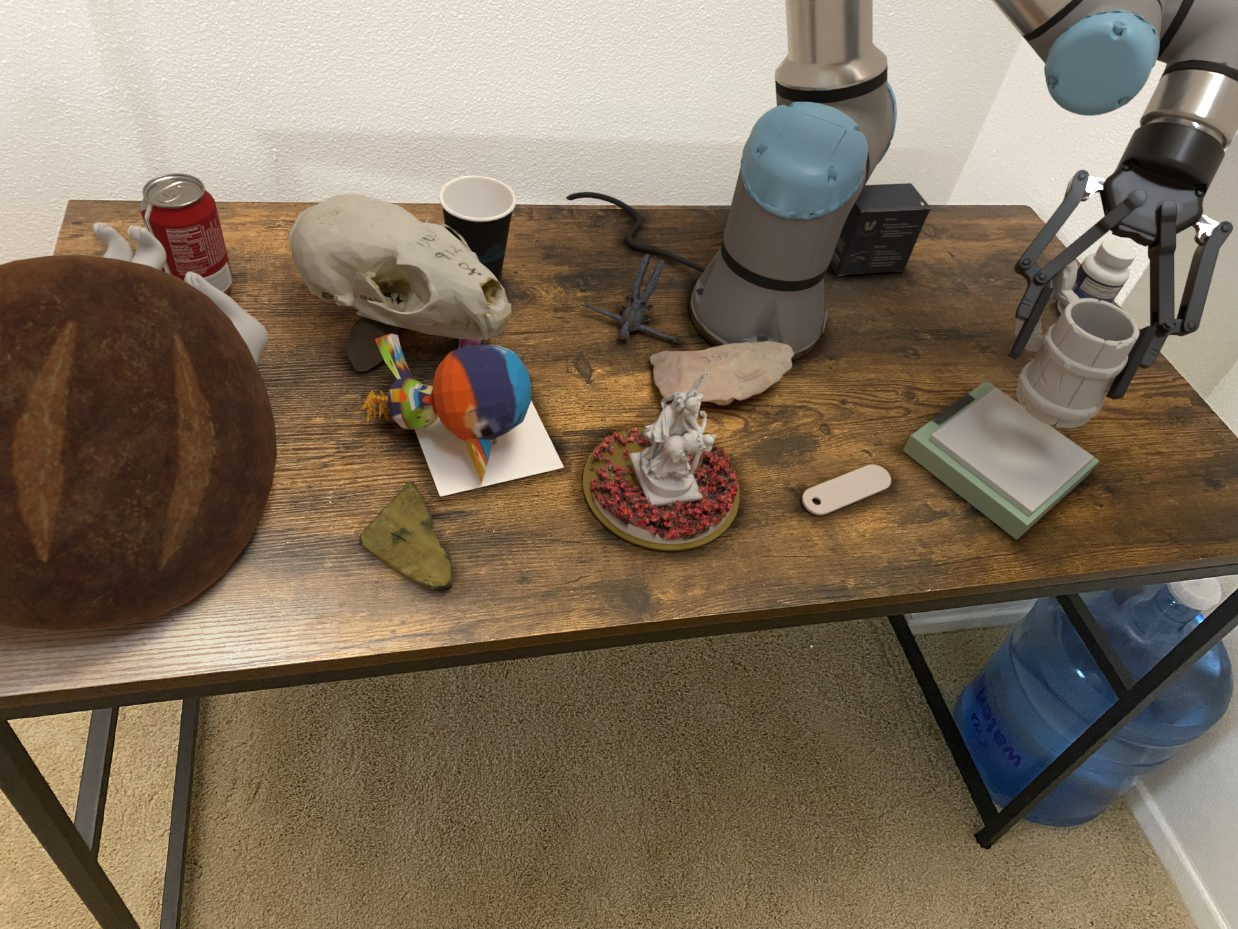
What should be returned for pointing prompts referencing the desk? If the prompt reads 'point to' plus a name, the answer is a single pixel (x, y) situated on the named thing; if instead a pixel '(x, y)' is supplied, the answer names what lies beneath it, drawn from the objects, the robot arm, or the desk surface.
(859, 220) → the box
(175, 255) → the soda can
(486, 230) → the dixie cup
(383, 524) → the stone
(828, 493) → the keychain
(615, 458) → the figurine
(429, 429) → the thin white square sheet
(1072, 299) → the mug
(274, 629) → the desk surface
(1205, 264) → the robot arm
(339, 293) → the skull
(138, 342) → the bread
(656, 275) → the figurine
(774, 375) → the stone tool
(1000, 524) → the scale
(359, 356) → the figurine
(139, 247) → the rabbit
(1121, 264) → the pill bottle
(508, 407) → the toy
